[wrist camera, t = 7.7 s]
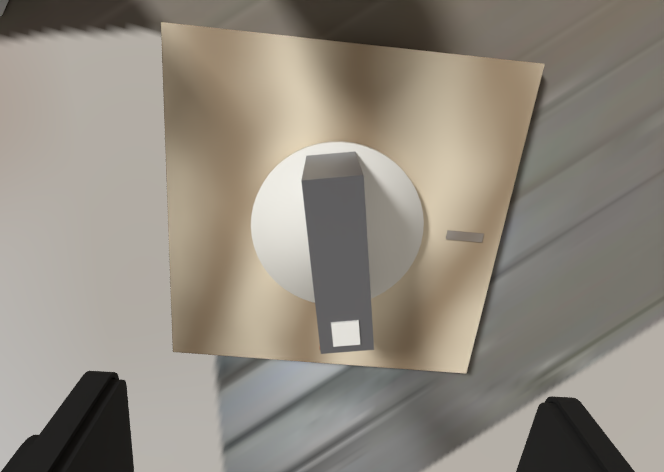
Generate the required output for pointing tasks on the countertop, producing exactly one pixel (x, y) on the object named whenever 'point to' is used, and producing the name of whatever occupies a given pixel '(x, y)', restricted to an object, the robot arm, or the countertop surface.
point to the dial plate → (322, 126)
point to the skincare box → (3, 6)
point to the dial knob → (338, 234)
